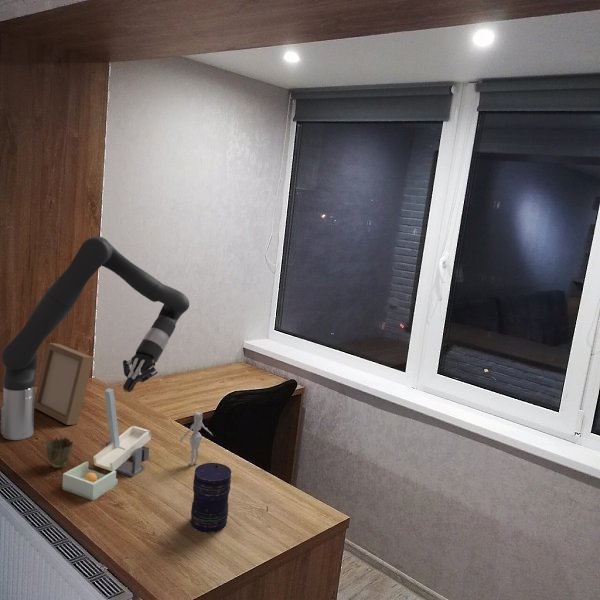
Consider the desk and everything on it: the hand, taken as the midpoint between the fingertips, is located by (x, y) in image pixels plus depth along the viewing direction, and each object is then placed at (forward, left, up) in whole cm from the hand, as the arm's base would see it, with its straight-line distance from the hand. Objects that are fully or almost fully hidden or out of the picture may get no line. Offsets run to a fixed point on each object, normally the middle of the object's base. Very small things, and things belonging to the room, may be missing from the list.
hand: (126, 390), depth 176 cm
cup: (-13, -13, -24) cm, 30 cm away
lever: (+3, -3, -18) cm, 18 cm away
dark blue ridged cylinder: (+41, -14, -24) cm, 50 cm away
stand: (+3, 0, -24) cm, 24 cm away
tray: (+3, -17, -24) cm, 30 cm away
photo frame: (-41, +19, -24) cm, 51 cm away
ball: (+3, -17, -21) cm, 28 cm away
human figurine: (+20, +11, -24) cm, 33 cm away
